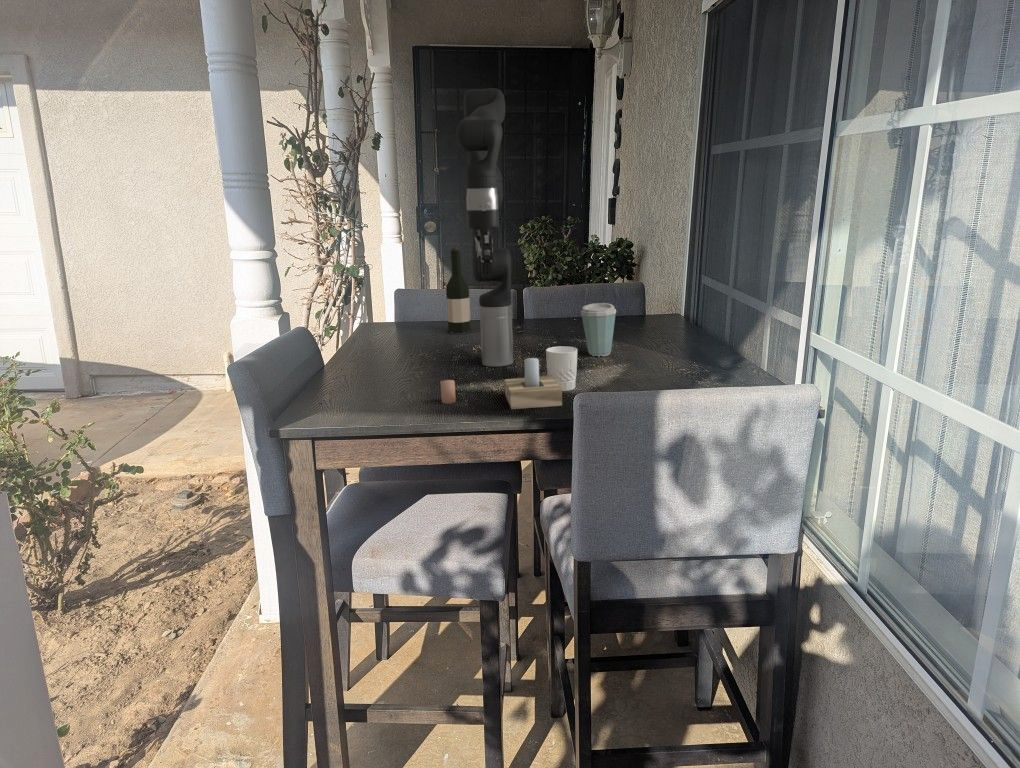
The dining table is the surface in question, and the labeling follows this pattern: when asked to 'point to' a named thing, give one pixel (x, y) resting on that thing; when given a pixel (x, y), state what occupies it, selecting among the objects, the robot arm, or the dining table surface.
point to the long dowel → (531, 372)
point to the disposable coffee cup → (599, 327)
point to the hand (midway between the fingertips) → (485, 275)
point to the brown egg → (448, 391)
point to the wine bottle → (458, 297)
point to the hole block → (533, 393)
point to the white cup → (562, 366)
